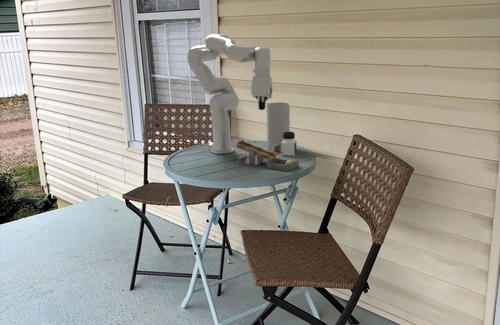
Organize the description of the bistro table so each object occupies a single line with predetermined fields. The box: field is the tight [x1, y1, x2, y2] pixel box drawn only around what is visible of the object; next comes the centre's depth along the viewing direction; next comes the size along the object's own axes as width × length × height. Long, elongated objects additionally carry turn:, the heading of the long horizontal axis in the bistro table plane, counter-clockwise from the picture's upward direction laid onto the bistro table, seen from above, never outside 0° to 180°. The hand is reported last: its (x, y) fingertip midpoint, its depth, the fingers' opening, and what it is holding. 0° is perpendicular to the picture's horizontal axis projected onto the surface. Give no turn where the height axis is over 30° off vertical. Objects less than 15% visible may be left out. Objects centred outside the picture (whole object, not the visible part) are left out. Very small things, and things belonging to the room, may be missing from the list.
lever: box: [235, 139, 283, 161], centre depth 258 cm, size 20×16×4 cm
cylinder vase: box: [265, 102, 291, 151], centre depth 282 cm, size 12×12×25 cm
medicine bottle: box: [281, 130, 297, 157], centre depth 271 cm, size 7×7×12 cm
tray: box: [266, 157, 300, 172], centre depth 248 cm, size 13×10×4 cm
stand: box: [235, 147, 266, 167], centre depth 257 cm, size 12×9×7 cm
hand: (261, 109), depth 259 cm, fingers closed
